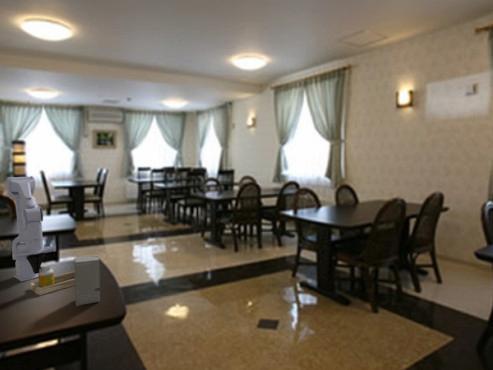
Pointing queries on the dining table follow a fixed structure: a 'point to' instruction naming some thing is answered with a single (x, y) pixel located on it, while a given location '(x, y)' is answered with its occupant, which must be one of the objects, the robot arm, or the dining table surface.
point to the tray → (40, 291)
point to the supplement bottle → (46, 275)
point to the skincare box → (87, 280)
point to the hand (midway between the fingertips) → (36, 273)
